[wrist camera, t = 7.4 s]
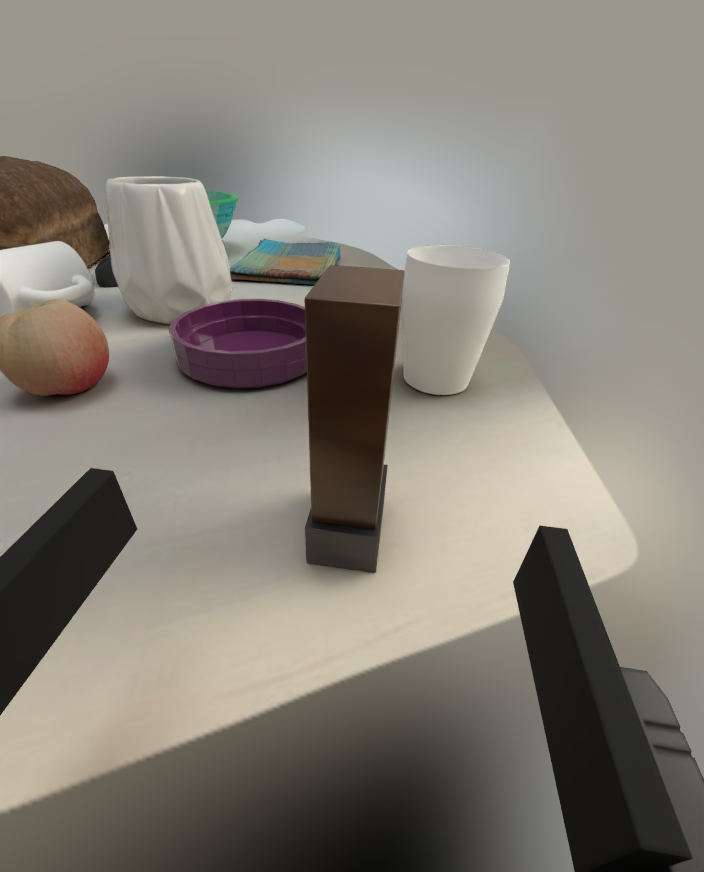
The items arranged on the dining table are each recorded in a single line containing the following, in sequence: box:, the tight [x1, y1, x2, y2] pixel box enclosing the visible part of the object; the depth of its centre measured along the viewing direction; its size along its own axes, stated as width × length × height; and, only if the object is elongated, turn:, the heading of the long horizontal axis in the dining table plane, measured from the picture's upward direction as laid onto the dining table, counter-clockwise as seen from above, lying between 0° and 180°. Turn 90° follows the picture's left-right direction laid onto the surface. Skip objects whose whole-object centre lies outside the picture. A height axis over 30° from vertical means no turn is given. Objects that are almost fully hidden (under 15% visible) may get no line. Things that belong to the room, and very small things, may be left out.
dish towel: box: [230, 239, 340, 285], centre depth 75 cm, size 17×23×2 cm
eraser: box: [305, 265, 405, 572], centre depth 21 cm, size 4×6×15 cm, turn 172°
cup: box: [402, 245, 510, 395], centre depth 38 cm, size 9×9×12 cm
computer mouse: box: [95, 255, 118, 287], centre depth 65 cm, size 6×11×4 cm, turn 119°
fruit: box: [0, 299, 109, 396], centre depth 35 cm, size 8×8×8 cm
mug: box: [0, 241, 94, 317], centre depth 49 cm, size 12×10×8 cm
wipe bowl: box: [169, 299, 307, 389], centre depth 43 cm, size 15×15×4 cm
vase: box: [106, 176, 232, 325], centre depth 51 cm, size 14×14×15 cm
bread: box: [0, 156, 109, 267], centre depth 63 cm, size 15×32×16 cm, turn 9°
